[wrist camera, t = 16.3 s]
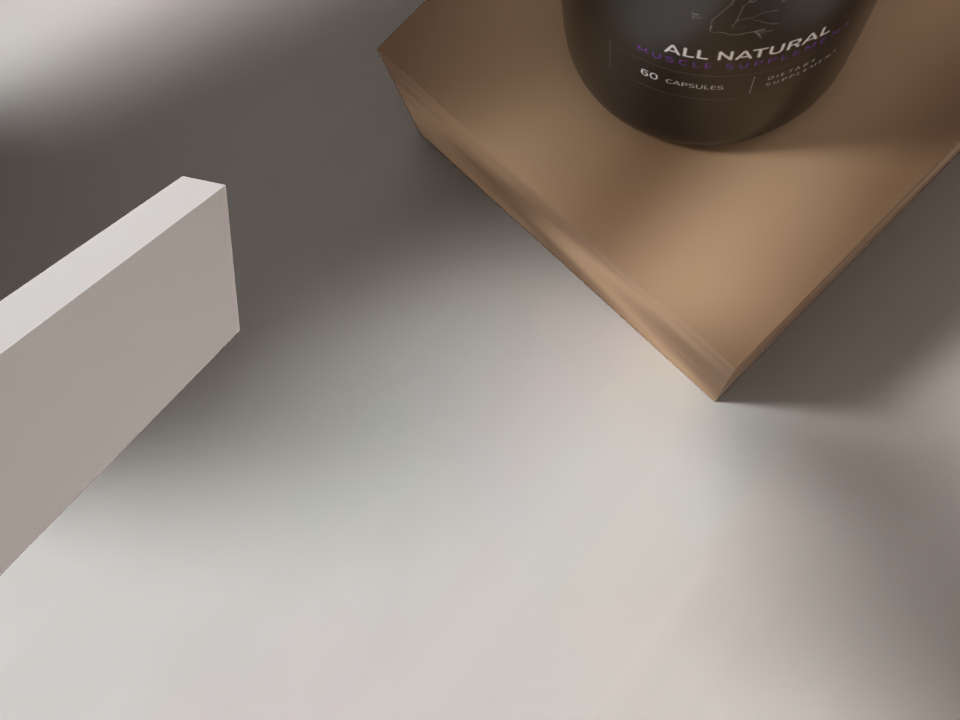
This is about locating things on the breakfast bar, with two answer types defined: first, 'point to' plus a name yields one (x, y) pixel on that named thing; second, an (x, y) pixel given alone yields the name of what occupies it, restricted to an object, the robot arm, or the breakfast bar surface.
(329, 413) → the breakfast bar surface
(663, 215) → the walnut block
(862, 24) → the supplement bottle
